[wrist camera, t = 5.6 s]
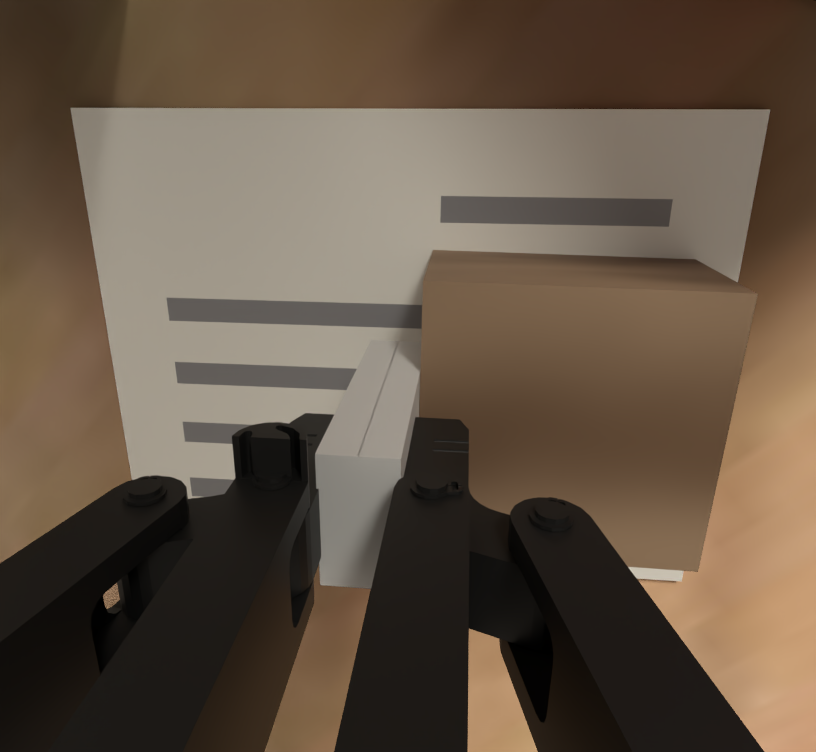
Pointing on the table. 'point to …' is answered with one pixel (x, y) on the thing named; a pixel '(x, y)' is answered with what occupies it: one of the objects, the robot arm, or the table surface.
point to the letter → (360, 240)
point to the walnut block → (590, 386)
